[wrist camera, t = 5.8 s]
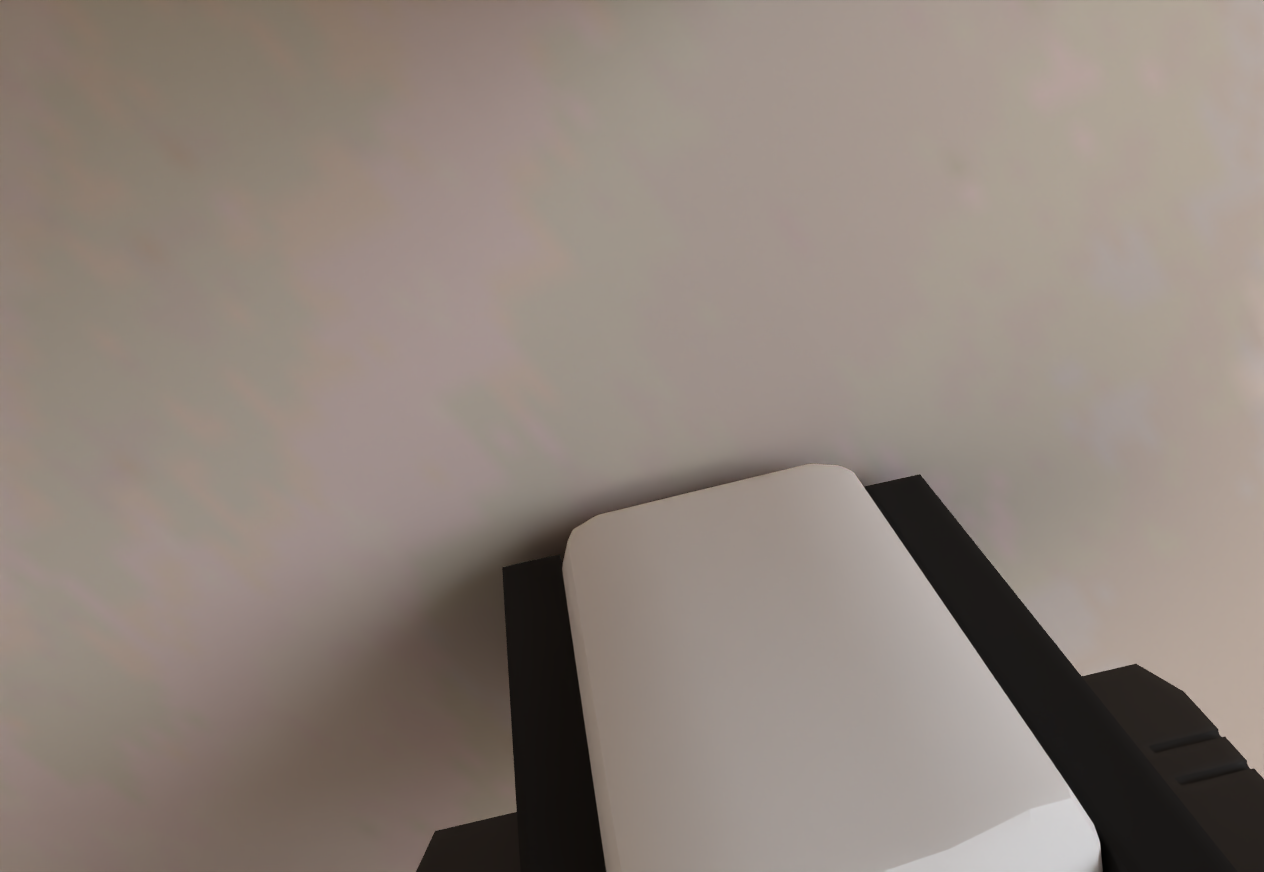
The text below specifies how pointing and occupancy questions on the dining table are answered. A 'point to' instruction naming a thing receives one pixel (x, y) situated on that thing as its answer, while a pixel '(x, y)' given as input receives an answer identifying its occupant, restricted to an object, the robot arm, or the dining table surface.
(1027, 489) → the dining table surface
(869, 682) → the pepper shaker
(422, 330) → the dining table surface
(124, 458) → the dining table surface
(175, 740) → the dining table surface
